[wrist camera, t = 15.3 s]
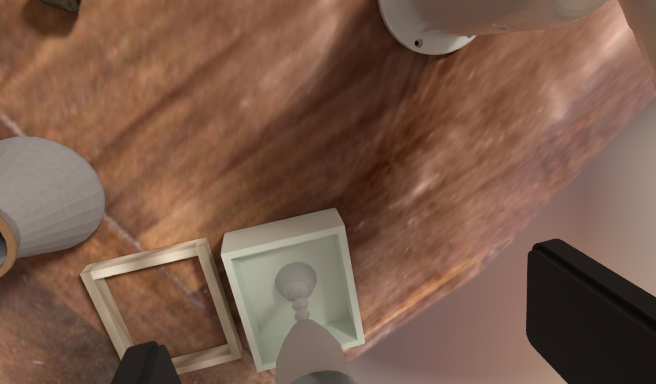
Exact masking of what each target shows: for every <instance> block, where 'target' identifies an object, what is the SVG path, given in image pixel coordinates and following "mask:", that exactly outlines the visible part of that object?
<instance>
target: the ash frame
mask: <svg viewBox="0 0 656 384" xmlns="http://www.w3.org/2000/svg"><path fill="white" fill-rule="evenodd" d="M197 255H198V257H199V260H200V263H201V266H202V269H203V272H204V275H205V278H206V281H207V284H208V287H209V289H210V292H211V295H212V298H213V301H214V304H215V307H216V310H217V313H218V316H219V319H220V322H221V325H222V328H223V331H224V334H225V337H226V340H227V343H228V344H225V345H221V346H217V347H214V348H210V349H206V350H202V351H198V352H194V353H190V354H187V355H183V356H179V357H175V358H171V360H172V362H173V364H174V367H175V369H176V372H177V374H178V375H180V374H183V373H187V372H191V371H195V370H199V369H202V368H206V367H210V366H214V365H217V364H221V363H225V362H229V361H233V360H236V359H240V358H242V345H241V342H240V338H239V335H238V332H237V329H236V326H235V323H234V320H233V317H232V314H231V311H230V307H229V304H228V301H227V298H226V295H225V292H224V289H223V286H222V283H221V280H220V276H219V273H218V270H217V267H216V264H215V261H214V258H213V255H212V252H211V249H210V246H209V242H208V239H207V237H205V238H201V239H196V240H192V241H188V242H183V243H179V244H175V245H170V246H166V247H162V248H157V249H153V250H149V251H144V252H140V253H136V254H131V255H127V256H123V257H118V258H114V259H110V260H105V261H101V262H97V263H92V264H88V265H87V266H86V267H85V269H84V270H83V271H82V272H81V274H80V275H81V278H82V280H83V282H84V284H85V286H86V288H87V290H88V292H89V294H90V296H91V298H92V301H93V303H94V305H95V307H96V309H97V311H98V313H99V315H100V317H101V319H102V321H103V324H104V326H105V328H106V330H107V332H108V334H109V336H110V338H111V340H112V342H113V345H114V347H115V349H116V351H117V353H118V355H119V357H120V359H121V360H122V358H123V355H124V353H125V351H126V350H127V348H129V347H131V346H135V345H134V343H133V341H132V338H131V336H130V334H129V332H128V329H127V327H126V325H125V323H124V321H123V318H122V316H121V314H120V312H119V310H118V307H117V305H116V303H115V301H114V299H113V296H112V294H111V292H110V290H109V287H108V285H107V283H106V281H105V279H104V277H108V276H112V275H116V274H121V273H125V272H129V271H134V270H138V269H142V268H146V267H151V266H155V265H159V264H163V263H168V262H172V261H176V260H180V259H185V258H189V257H193V256H197Z"/></svg>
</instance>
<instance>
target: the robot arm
mask: <svg viewBox="0 0 656 384" xmlns="http://www.w3.org/2000/svg"><path fill="white" fill-rule="evenodd" d="M608 1H609V0H377V2H378V6H379V10H380V14H381V17H382V19H383V21H384V24H385V26H386V27H387V29H388V30H389V32H390V33H391V35H392V36H393V37H394V38H395V39H396V40H397V41H398V42H399V43H400V44H401V45H403V46H405V47H406V48H408V49H409V50H412V51H414V52H417V53H420V54H428V55H440V54H445V53H450V52H453V51H455V50H458V49H460V48H462V47H463V46H465V45H466V44H468V43H469V42H471V41H472V40H473V39H474V38H475V37H476V36H477V35H485V34H497V33H508V32H519V31H531V30H541V29H551V28H556V27H561V26H565V25H568V24H571V23H574V22H576V21H578V20H581V19H582V18H584V17H586V16H588V15H589V14H591V13H593V12H594V11H596V10H597V9H599V8H600V7H601V6H603V5H604V4H605V3H607V2H608ZM618 1H619V3H620V6H621V8H622V10H623V13H624V15H625V18H626V20H627V23H628V25H629V27H630V28H631V29H632V30H633V33H634V35H635V38H636V41H637V43H638V46H639V48H640V51H641V53H642V56H643V59H644V61H645V64H646V66H647V69H648V71H649V74H650V76H651V79H652V82H653V84H654V87H655V89H656V0H618ZM415 41H417V45H416V46H415ZM527 265H528V266H527V313H526V316H527V317H526V318H527V319H526V334H527V338H528V340H529V342H530V343H531V345H532V346H533V347H534V348H535V349H536V350H537V352H538V353H539V354H540V355H541V356H542V357H543V358H544V359H545V360H546V361H547V362H548V363H549V364H550V365H551V366H552V367H553V368H554V370H555V371H556V372H557V373H558V374H559V375H560V376H561V377H562V378H563V379H564V380H565V381H566V382H567V383H568V384H656V297H654V296H653V295H651V294H649V293H648V292H646V291H644V290H643V289H641V288H639V287H638V286H636V285H634V284H633V283H631V282H630V281H628V280H626V279H625V278H623V277H621V276H620V275H618V274H616V273H615V272H613V271H612V270H610V269H608V268H606V267H605V266H603V265H602V264H600V263H598V262H596V261H595V260H594V259H592V258H590V257H588V256H587V255H585V254H584V253H582V252H580V251H579V250H577V249H575V248H574V247H572V246H570V245H569V244H567V243H565V242H564V241H562V240H560V239H552V240H549V241H544V242H541V243H536V244H535V245H534V246H533V248H532V251H530V252H529V253H528V264H527ZM111 384H181V381H180V379H179V376H178V374H177V372H176V369H175V367H174V364H173V362H172V360H171V357H170V355H169V352H168V350H167V348H166V346H165V345H161V346H158V344H157V343H156V342H155V341H151V342H147V343H143V344H139V345H135V346H131V347H129V348H127V350H126V351H125V353H124V355H123V358H122V360H121V362H120V364H119V367H118V369H117V371H116V373H115V376H114V378H113V380H112V382H111Z"/></svg>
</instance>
